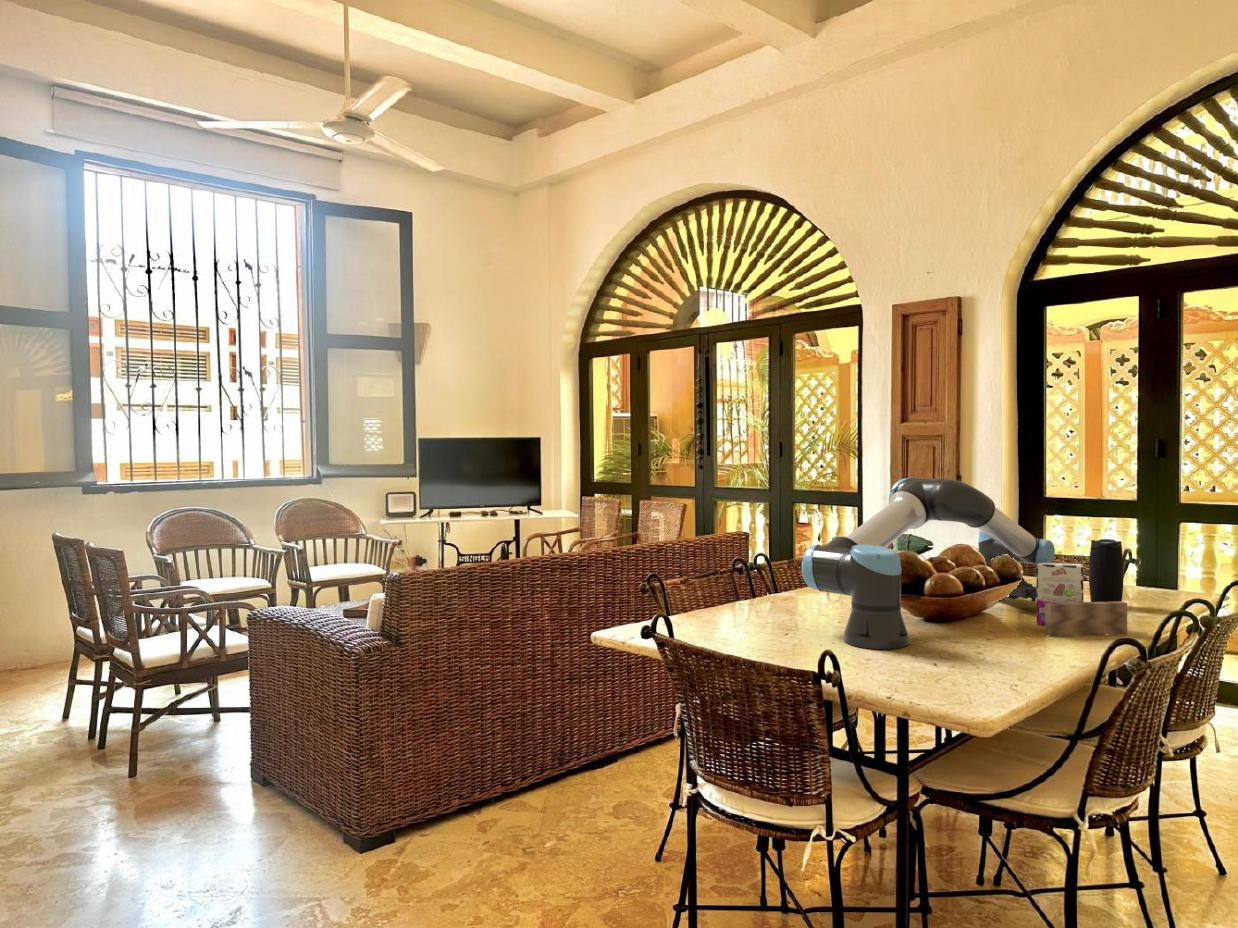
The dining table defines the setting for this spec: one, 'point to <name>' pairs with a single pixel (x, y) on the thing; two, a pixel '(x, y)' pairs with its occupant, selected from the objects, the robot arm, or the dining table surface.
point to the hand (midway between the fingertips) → (1052, 598)
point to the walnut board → (1085, 618)
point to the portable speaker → (1106, 571)
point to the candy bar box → (1058, 585)
